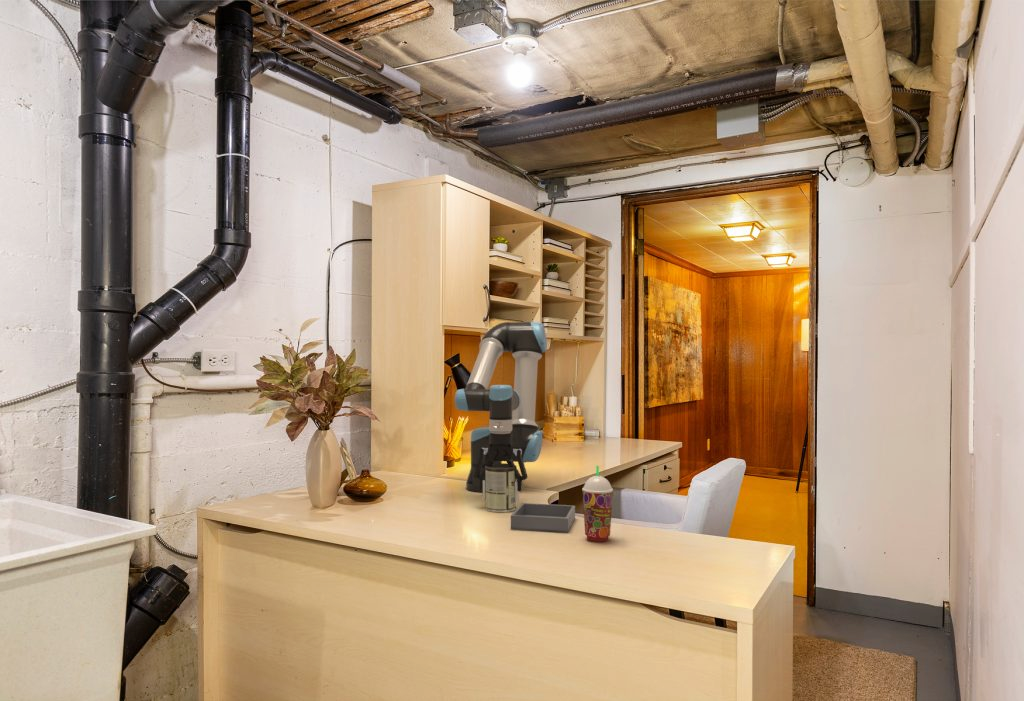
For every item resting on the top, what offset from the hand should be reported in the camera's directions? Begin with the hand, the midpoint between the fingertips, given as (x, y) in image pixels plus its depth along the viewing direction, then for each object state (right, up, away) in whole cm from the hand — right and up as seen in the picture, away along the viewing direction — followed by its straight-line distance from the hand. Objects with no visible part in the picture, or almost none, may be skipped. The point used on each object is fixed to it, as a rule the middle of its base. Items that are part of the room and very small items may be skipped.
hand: (500, 500), depth 214 cm
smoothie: (+27, -3, -36) cm, 45 cm away
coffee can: (0, -3, 0) cm, 3 cm away
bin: (+13, -3, -19) cm, 24 cm away
